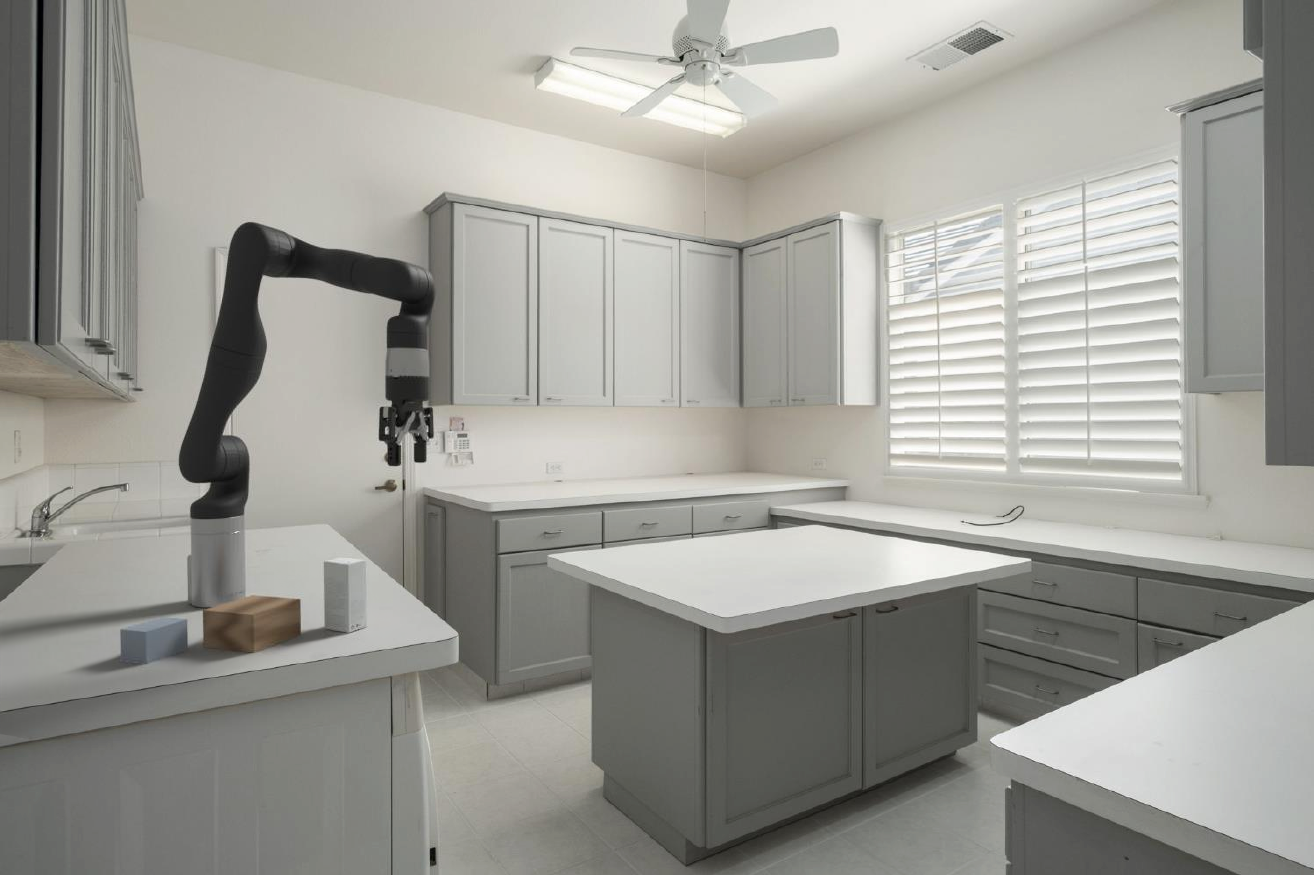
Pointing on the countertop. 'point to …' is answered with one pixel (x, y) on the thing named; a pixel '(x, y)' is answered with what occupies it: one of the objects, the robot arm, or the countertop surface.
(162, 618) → the slate brick
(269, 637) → the walnut block
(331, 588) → the skincare box
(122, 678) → the countertop surface
